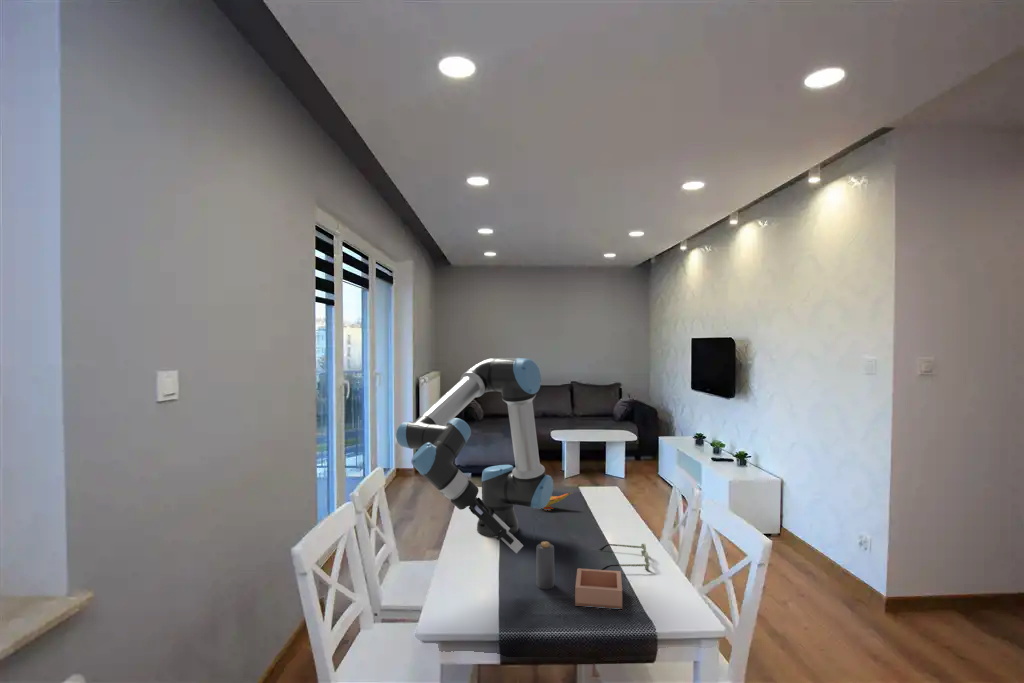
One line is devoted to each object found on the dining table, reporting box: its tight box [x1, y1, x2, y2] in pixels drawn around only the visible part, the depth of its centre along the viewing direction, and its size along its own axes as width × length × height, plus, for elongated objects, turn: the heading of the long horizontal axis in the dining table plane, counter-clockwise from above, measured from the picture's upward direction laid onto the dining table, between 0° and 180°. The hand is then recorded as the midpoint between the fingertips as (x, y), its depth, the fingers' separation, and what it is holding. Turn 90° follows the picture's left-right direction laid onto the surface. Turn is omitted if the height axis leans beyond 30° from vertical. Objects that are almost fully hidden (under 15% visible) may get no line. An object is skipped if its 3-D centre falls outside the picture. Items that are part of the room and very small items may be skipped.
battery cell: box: [535, 541, 555, 590], centre depth 153 cm, size 5×5×12 cm
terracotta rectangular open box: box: [574, 567, 623, 610], centre depth 145 cm, size 12×12×5 cm
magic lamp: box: [544, 492, 574, 510], centre depth 223 cm, size 7×18×11 cm, turn 85°
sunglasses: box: [598, 543, 650, 570], centre depth 169 cm, size 17×15×5 cm
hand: (513, 540), depth 150 cm, fingers open, 13 cm apart
